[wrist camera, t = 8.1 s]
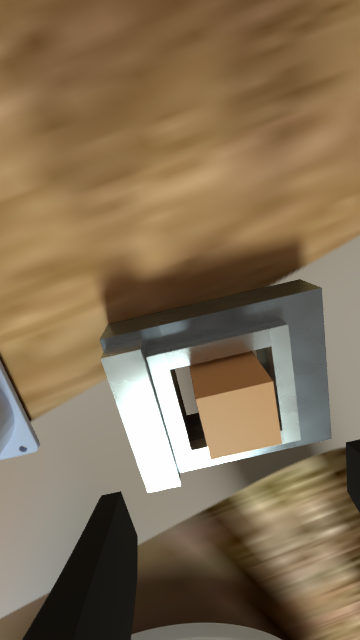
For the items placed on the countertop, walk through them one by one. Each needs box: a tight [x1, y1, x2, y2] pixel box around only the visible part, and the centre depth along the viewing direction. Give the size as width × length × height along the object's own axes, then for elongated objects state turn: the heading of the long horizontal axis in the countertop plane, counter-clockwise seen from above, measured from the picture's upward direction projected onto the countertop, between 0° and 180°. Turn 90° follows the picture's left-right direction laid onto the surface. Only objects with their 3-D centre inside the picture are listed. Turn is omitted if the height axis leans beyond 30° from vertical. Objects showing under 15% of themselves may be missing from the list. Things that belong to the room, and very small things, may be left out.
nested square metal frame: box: [100, 279, 331, 493], centre depth 17 cm, size 12×10×4 cm
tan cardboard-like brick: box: [189, 351, 282, 460], centre depth 16 cm, size 4×4×6 cm
